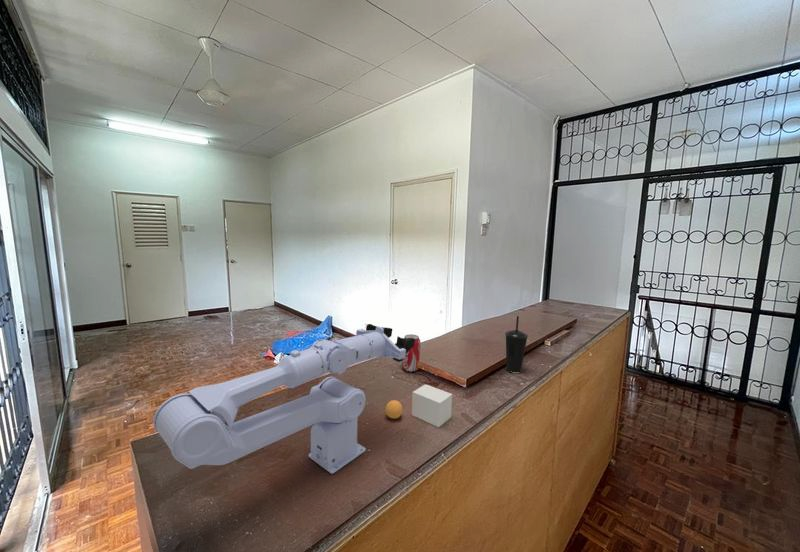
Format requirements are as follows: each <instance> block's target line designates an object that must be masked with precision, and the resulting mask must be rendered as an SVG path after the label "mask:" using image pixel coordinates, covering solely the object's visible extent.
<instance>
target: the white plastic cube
mask: <svg viewBox="0 0 800 552" xmlns="http://www.w3.org/2000/svg"><path fill="white" fill-rule="evenodd" d="M411 395H412V396H411V397H412V398H411V399H412V400H411V405H412V406H411V416H413V417H415V418H417V419H420V420H421V421H424V422H425V423H426V422H427V423H428V424H430V425H433V426H435V427H437V428H440V427H441V426H443V425H444V424H445V423H446V422H447V421H449V420H450V419H451V418H452V409H453V408H452V407H453V406H452V405H453V394H452V393H450V392H447V391H445V390H442V389H439V388H437V387H434V386H431V385H429V384H423V385H422V386H420V387H418V388H417V389H415V390H414V391H412V394H411Z"/></svg>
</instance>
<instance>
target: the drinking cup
mask: <svg viewBox="0 0 800 552" xmlns="http://www.w3.org/2000/svg"><path fill="white" fill-rule="evenodd" d="M519 319H520V316H519V315H517V316H516V324H515V329H511V330H507V331H505V332H504V334H505V356H506V358H505V360H506V362H505V363H506V364H505V365H506V367H505V368H507V370H509V371H512V372H520V371H522V367H523V362H524V356H525V349H526V346H527V340H528V337H529V334H527V333H525V332H524V331H522V330H519ZM507 370H506V371H507Z"/></svg>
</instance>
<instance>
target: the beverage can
mask: <svg viewBox="0 0 800 552" xmlns="http://www.w3.org/2000/svg"><path fill="white" fill-rule="evenodd" d="M403 338H414V339H415V345H414V347H413V348H411V349H410V350H409V351H408V352H407V353H406V355H405V358H403V360H402V361H401V368H402V369H403V370H404V371H405V372H408V371H409V372H408V373H413V371H414V372H416V371H418V370H420V368H418V366H417V364H418V361H419V360H420V361H421V339H420V337H419V335H418V334H405V335H404V337H403Z"/></svg>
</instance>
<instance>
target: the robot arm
mask: <svg viewBox="0 0 800 552" xmlns="http://www.w3.org/2000/svg"><path fill="white" fill-rule="evenodd" d="M392 335H393V328H392V327H391V328H390V327H383V326H377V325H373V324H371V323H368V324H366V329H364V328H359V329H357V330H356V332H355V335H354V336H349V337H345V338H341V339H337V340H334V341H331V340H330V339H329V340H328V339H325V338H323V339H317V340H316V341H314V342H313V344H312V345H311V346H310V347H308V348H305V349H304V350H301V351H299V350H297V349H294V350H292V351H290V352H289V355H286V356H283V357H282V358H281V359H280V360H279V362H278V364H277V366H274V367H271V368H267V369H264V370H261V371H258V372H253V373H251V374H247V375H244V376H243V375H242V376H241V377H237V378H236V377H235V378H233V379H230V380H226V381H224V382H220V383H216V384H210V385H203V386H197V387H195V388H193V389H191V390H189V391H188V392H189V393H179V394H176V395H173V396H172V397H170V398H168V399H166V400H165V401H163V402H162V403H161V404H160V405H159V407H158V408H157V410H155V413H154V416H153V422H152V424H153V428H154V429H155V431H156V432H157V433H158V434H159V435H160V437H161V438H162V440H163V441H164V443H165V444H166V445H167V447H168V448H169V449H170V453H171V455H172V457H173V458H174V459H175V460H176V461H178V462H179V463H181V464H182V465H183V466H185V467H187V468H188V469H190V470H192V469H196V468H198V467H200V466H224V465H227V464H230V463H232V462H234V461H236V460H239V459H240V458H243V457H245V456H247V455H250V454H251V453H254V452H255V451H258V450H259V449H262V448H265V447H267V446H268V445H271V444H273V443H275V442H277V441H280V440H282V439H284V438H287V437H288V436H291V435H293V434H295V433H297V432H300V431H301V430H304V429H307V428H308V427H310V426H311V429H310V453H308V458H309V459H310V460H313V461H314V463H316V464H318V465H319V466H320V467H322V468H323V469H324V470H326V471H327V472H329V473H330V474H331V475H333V474H335V473H336V472H338V471H339V470H341V469H342V468H343V467H345V466H346V465H347V464H349V463H351V462H352V461H353V460H355V459H356V458H357V457H359V456H360V455H362V454H363V453H365V452H366V450H367V449H366V447H365V446H363V445H361V444H360V443H358V418H359V416H361V414H362V413H363V411H364V409H365V406H366V399H367V398H366V395H365V392H364V391H363V390H362V389H361V388H360V389H359V388H356V387H354V386H352V385H349V384H348V383H346V382H343V381H341V380H339V379H338V378H337V377H334V376H328V377H325V378H324V379H323V380H322V381H321V382H320V383H318V384H317V385H314V386H311V389H310V392H309V394H308V395H304V396H302V397H299V398H296V399H294V400H291V401H289V402H286V403H283V404H280V405H278V406H274V407H272V408H269V409H266V410H263V411H261V412H258V413H256V414H255V413H254V414H253V415H250V416H248V417H245V418H243V419H239V420H237V421H235V419H236V416H237V414H238V411H239V409H240V407H241V406H244V405H245V404H247V403H250V402H251V401H253V400H255V399H259V397H262V396H264V395H265V394H268V393H270V392H271V391H273V390H275V389H278V388H280V387H282V386H285V387H286V388H288V389H294V388H297V387H298V386H301V385H303V384H305V383H308V382H310V381H312V380H315V379H317V378H319V377H322V376H324V375H325V374H331V375H337V376H339V375H342V374H344V373H345V371H346V370H347V369H348V368H349V367H350V366H353V365H356V364H358V363H362V362H364V361H369V360H372V359H374V358H375V359H376V358H391V359H392V360H393V361H396V362H397V363H399V362H402V360H403V358H405V355H406V353H407V352H408V351H409V350H410V349H411V348H413V347H414V345H415V339H414V338H404V337H400V336H397V339H396V342H395V343H394V342H393V341H392V339H390V338H391V337H392Z"/></svg>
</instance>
